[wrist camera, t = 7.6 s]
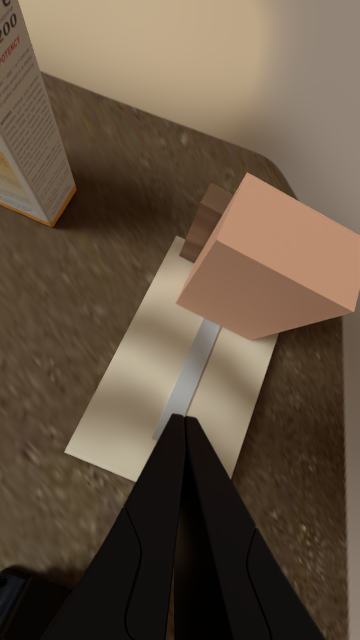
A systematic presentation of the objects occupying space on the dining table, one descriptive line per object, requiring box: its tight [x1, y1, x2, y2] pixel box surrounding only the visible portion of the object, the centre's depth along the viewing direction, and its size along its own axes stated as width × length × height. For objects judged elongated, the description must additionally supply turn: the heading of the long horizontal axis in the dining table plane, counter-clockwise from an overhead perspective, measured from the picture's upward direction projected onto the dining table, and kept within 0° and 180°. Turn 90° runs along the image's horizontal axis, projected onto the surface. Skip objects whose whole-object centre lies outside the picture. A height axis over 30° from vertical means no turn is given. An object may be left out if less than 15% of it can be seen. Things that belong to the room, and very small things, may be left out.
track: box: [65, 183, 279, 482], centre depth 17 cm, size 19×12×8 cm, turn 156°
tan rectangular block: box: [175, 173, 360, 340], centre depth 16 cm, size 4×7×10 cm, turn 66°
